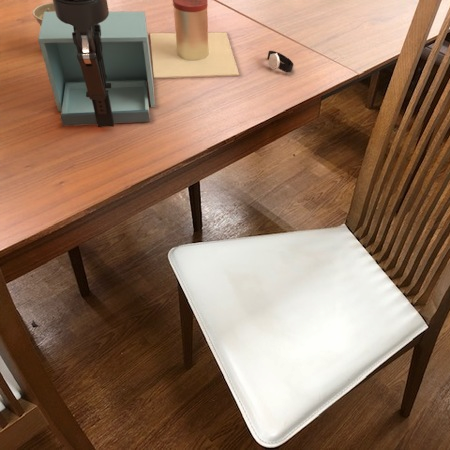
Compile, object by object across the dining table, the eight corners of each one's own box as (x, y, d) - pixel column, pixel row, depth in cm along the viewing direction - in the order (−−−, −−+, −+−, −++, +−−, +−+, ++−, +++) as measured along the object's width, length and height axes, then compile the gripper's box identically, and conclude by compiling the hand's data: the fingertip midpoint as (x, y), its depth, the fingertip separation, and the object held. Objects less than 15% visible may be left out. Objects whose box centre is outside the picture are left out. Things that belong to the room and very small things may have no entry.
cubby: (155, 107, 99) (146, 37, 89) (58, 111, 95) (37, 38, 85) (152, 79, 106) (144, 11, 96) (62, 82, 102) (44, 11, 92)
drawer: (150, 125, 94) (148, 115, 93) (62, 129, 91) (59, 119, 89) (147, 87, 103) (146, 77, 102) (67, 90, 100) (65, 80, 98)
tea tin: (172, 57, 112) (167, 3, 104) (182, 43, 117) (178, -10, 109) (204, 63, 112) (202, 8, 103) (212, 48, 117) (211, -5, 109)
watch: (261, 61, 116) (262, 46, 113) (278, 57, 118) (279, 42, 115) (281, 77, 112) (282, 62, 109) (298, 72, 114) (299, 57, 111)
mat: (239, 75, 110) (239, 74, 110) (153, 78, 106) (153, 76, 106) (226, 33, 124) (226, 32, 123) (150, 34, 119) (149, 33, 119)
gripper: (103, 9, 71) (127, 144, 88) (106, -27, 80) (127, 103, 96) (46, 9, 69) (81, 147, 86) (54, -27, 78) (85, 105, 95)
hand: (105, 124), depth 91 cm, fingers closed
